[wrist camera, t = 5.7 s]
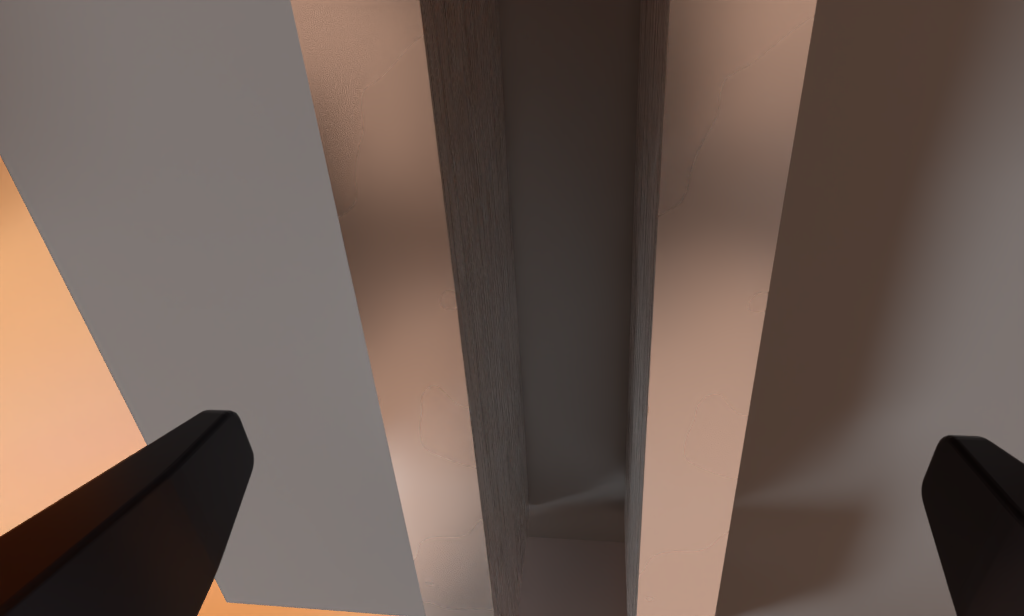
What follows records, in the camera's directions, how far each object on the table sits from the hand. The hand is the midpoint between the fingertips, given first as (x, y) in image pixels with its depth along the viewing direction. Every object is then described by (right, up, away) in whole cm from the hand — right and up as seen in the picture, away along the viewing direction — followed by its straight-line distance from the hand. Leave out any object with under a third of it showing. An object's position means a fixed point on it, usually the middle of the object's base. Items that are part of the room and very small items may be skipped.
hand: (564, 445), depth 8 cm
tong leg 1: (-1, +3, +2) cm, 4 cm away
